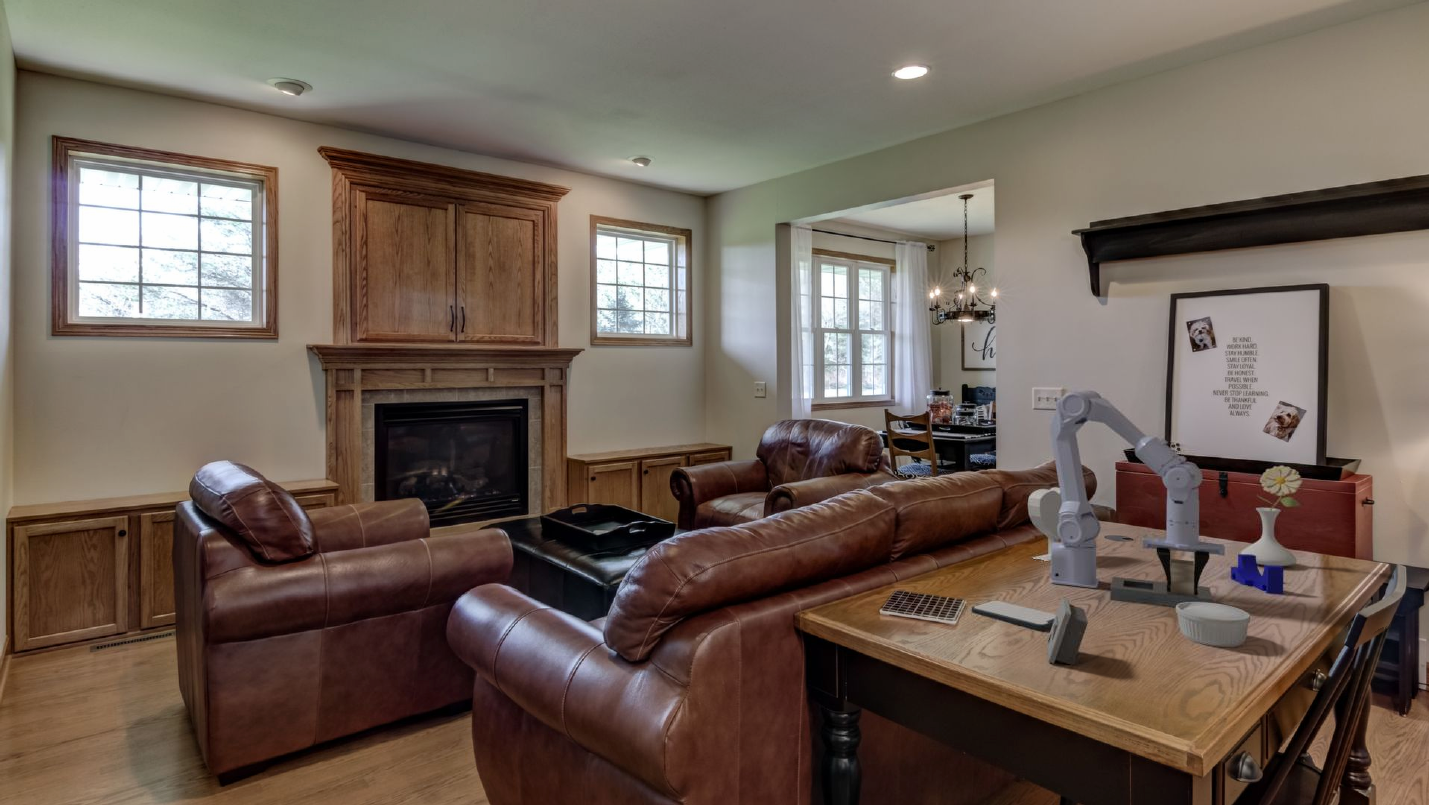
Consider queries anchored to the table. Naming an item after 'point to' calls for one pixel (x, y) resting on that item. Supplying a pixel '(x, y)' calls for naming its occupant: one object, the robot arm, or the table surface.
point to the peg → (1182, 576)
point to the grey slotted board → (1154, 592)
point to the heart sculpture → (1046, 515)
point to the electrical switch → (1066, 633)
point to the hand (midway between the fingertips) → (1182, 585)
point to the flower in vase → (1267, 546)
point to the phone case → (1016, 615)
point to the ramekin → (1213, 623)
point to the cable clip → (1258, 575)
